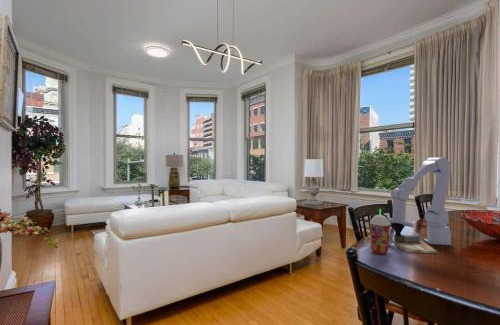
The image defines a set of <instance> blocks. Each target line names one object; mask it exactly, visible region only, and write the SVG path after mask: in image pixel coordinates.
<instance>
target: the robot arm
mask: <svg viewBox="0 0 500 325" xmlns="http://www.w3.org/2000/svg"><path fill="white" fill-rule="evenodd" d="M450 168H451V162H450V161H449V159H448V158H446V157H444V156H443V157H442V156H441V157H427V158H426V159H425V160H424V161H422V164H421V166H420V167H419V168H418V169H417V170H416V172H415V173H414V174H412V175H411V176H410V177H409V176H408V177H407V178H404V180H403V182H402V183H401V184H399V185H398V186H397V187H395V188H394V189H392V190H391V193H390V195H391V197H392V198H391V199H392V217H387V218H388V221H389V223H390V224H391V226H392V228H393V230H394V232H395V234H394V235H402V234H401V233H402V231H403V229H404V228H405V227H410V228H415V223H414V222H411V221H407V220H406V213H407V211H406V210H407V200H408V199H409V197H410V194H411V192H413V190H414V189H416V187H417V186H418V182H419V181H420V180H421V179H422V178H424V177H425V175H427V174H428V173H429V172H432V173H433V174H434V175H435V176H436V179H435V183H434V189H433V196H432V199H431V205H430V206H428V207H427V209H426V212H425V213H424V215H423V218H424V220H425V221H426V224H427V229H426V230H427V234H426V235H427V236H426V237H427V238H423V240H424V241H426V243H429V244H430V245H441V246H442V245H443V246H452V242H451V239H452V238H451V236H452V235H451V234H452V233H451V228H450V227H449V226H448V224H449V222H450V221H449V212H448V211H447V210H446V208H445V206H446V201H447V193H448V188H449V182H450V179H451V171H450Z"/></svg>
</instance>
